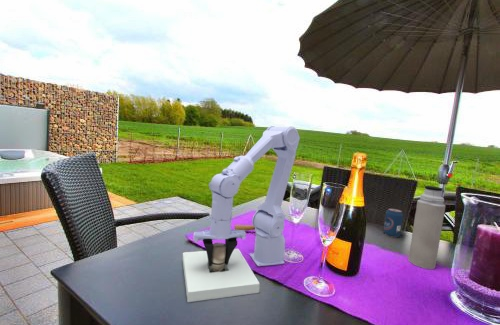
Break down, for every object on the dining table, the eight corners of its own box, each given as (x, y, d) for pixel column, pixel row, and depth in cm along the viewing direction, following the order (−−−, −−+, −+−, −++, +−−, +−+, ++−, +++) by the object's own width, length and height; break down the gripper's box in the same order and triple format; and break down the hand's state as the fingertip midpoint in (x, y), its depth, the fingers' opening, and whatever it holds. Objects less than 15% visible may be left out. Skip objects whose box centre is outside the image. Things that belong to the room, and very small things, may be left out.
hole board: (237, 255, 82) (238, 248, 82) (258, 292, 64) (259, 283, 63) (182, 260, 77) (182, 252, 76) (187, 302, 58) (188, 292, 58)
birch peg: (223, 265, 73) (224, 242, 72) (226, 272, 69) (227, 247, 68) (209, 266, 71) (210, 243, 71) (211, 273, 67) (213, 248, 67)
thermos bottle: (410, 255, 94) (421, 183, 91) (436, 264, 88) (449, 188, 86) (406, 262, 88) (418, 185, 85) (433, 271, 83) (447, 190, 80)
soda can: (379, 232, 117) (383, 207, 116) (391, 231, 119) (395, 207, 118) (391, 238, 111) (394, 212, 110) (403, 237, 112) (407, 212, 111)
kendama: (234, 239, 99) (279, 236, 99) (233, 223, 99) (278, 220, 99) (235, 235, 107) (277, 232, 107) (235, 220, 107) (276, 217, 107)
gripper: (242, 212, 75) (238, 254, 76) (193, 213, 70) (190, 258, 71) (249, 220, 68) (245, 266, 69) (196, 221, 63) (193, 271, 65)
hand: (218, 263), depth 70 cm, fingers closed on birch peg, 4 cm apart
